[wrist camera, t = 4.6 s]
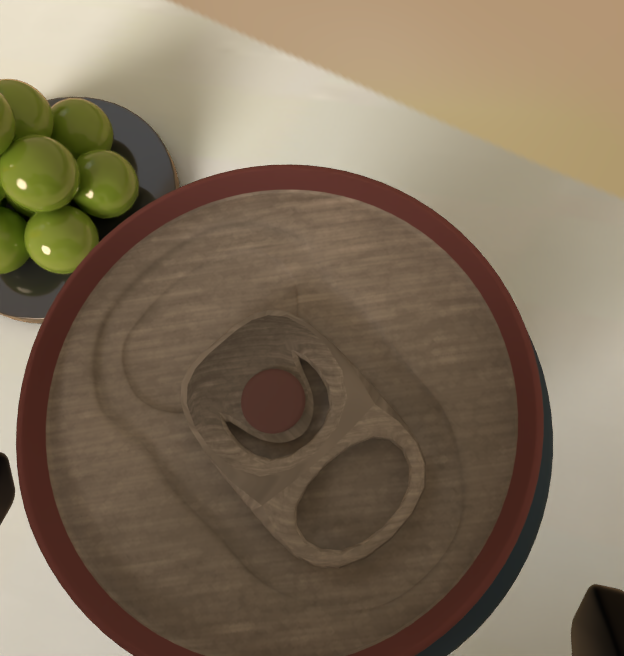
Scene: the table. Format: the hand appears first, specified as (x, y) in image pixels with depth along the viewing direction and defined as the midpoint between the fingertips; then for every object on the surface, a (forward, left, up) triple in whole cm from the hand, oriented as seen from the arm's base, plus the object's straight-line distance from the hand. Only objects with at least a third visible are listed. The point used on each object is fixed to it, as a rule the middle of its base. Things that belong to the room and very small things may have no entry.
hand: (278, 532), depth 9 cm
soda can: (+1, +1, -9) cm, 9 cm away
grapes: (+4, +13, -9) cm, 16 cm away
